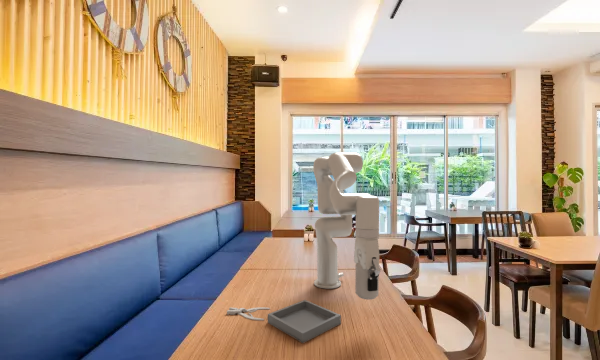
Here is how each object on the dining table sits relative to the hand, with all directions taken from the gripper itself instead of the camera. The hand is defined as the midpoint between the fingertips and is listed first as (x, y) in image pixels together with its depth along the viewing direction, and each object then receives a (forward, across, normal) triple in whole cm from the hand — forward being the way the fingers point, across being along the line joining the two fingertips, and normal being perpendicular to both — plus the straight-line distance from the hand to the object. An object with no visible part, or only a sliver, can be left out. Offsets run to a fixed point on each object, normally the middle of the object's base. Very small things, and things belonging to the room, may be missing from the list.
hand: (366, 285), depth 101 cm
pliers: (+16, -21, -38) cm, 46 cm away
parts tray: (+15, -9, -19) cm, 26 cm away
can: (+4, 0, 0) cm, 4 cm away
